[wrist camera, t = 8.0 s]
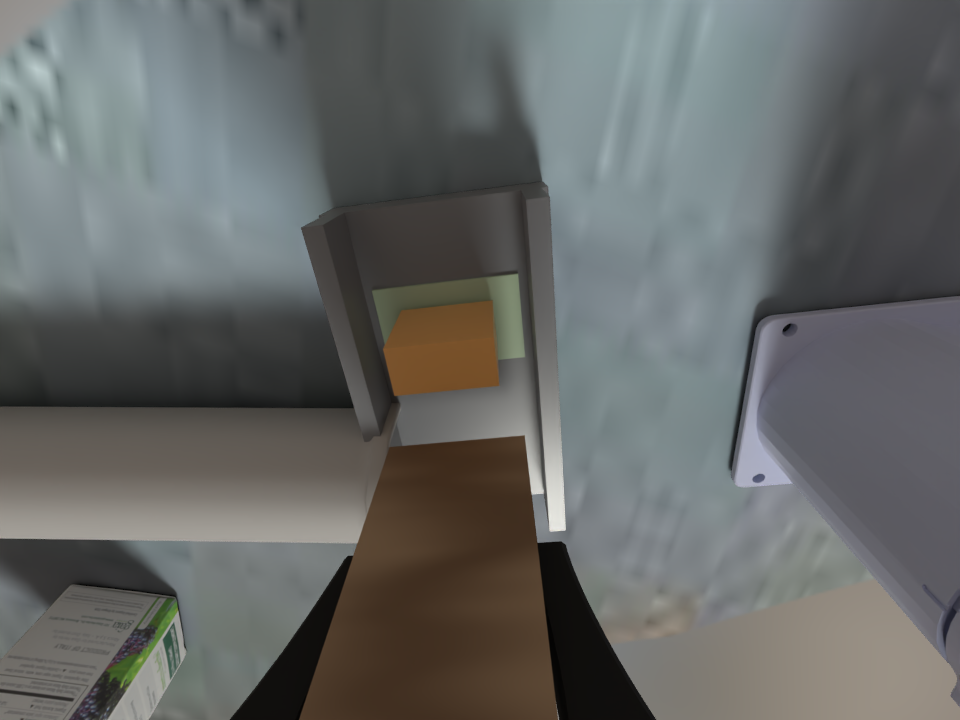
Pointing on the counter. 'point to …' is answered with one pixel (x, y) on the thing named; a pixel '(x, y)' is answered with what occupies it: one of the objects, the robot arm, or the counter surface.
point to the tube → (188, 473)
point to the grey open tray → (448, 281)
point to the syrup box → (94, 657)
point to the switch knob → (443, 349)
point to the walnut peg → (442, 595)
